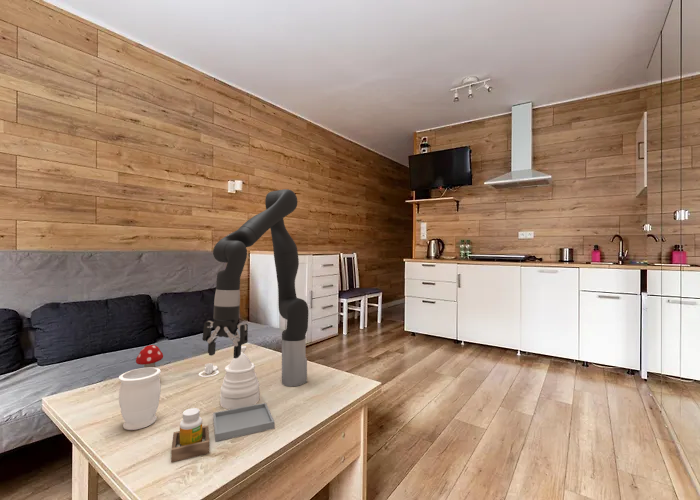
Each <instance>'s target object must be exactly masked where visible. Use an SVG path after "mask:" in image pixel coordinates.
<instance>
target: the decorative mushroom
mask: <svg viewBox="0 0 700 500" xmlns="http://www.w3.org/2000/svg"><path fill="white" fill-rule="evenodd" d="M163 358H164V354H163V352H162V351H161V349H160V348H159V346H157V345H155V344H150V345H147V346H144V347H143V348H142V349H141V350H140V352H139V354H138V355H137V357H136V359H135V362H136V365H142V366H143V368H149V367H152V368H157V367H156V363H157V362H160V361H161V360H163Z"/></svg>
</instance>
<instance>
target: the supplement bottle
mask: <svg viewBox="0 0 700 500" xmlns="http://www.w3.org/2000/svg"><path fill="white" fill-rule="evenodd" d="M202 426H203V418H202V417H201V416H200V409H199V408H197V407H191V408H187V409H185V410H184V411H183V412H182V420H181V421H180V422H179V431H180V444H179V447H180V446H184V445H189V444H193V443H198V442H202V441H203V439H202Z"/></svg>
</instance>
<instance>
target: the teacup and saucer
mask: <svg viewBox="0 0 700 500" xmlns="http://www.w3.org/2000/svg"><path fill="white" fill-rule="evenodd" d="M218 369H219V367H218V365H214V363H211V362H210V363H205V364H204V369H203V371H200V372H199V373H198V377H203V378H208V377H213V376H216V375H219V374H220V370H218ZM213 372H215V373H214V374H212V373H213ZM203 373H205V374H206V375H203Z"/></svg>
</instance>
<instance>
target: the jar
mask: <svg viewBox="0 0 700 500" xmlns="http://www.w3.org/2000/svg"><path fill="white" fill-rule="evenodd" d="M161 372H162V371H161V369H160V368H158V367H156V368H152V367H149V368H144V367H141V368H135V369H131V370H129V371H126V372H124V373H122V374H120V375H119V376H118V380H119V382H120V385H119V391H118V403H119V408H120V414H121V417H122V419H123V421H124V422H123V425H122V427H123V429H124V430H128V431H133V430H134V431H136V430H141V429H144V428H146V427H149V426H151V425H153V424H155V422H156V421H157V420H158V419H157V416H156V413H157V411H158V408H159V403H160V397H161V393H162V391H161V380H160V375H161Z"/></svg>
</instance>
